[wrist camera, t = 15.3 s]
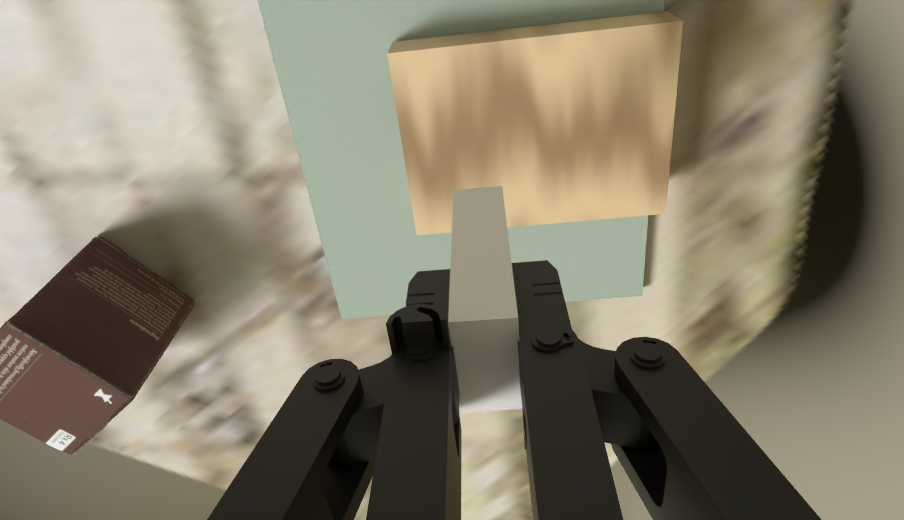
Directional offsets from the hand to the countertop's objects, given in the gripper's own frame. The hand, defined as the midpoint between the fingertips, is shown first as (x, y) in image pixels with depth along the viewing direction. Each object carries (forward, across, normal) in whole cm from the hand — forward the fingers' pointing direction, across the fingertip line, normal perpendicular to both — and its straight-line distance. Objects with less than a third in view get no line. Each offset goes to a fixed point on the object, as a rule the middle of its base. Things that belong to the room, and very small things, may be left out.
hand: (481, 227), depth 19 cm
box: (+10, -20, -8) cm, 24 cm away
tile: (+8, -3, 0) cm, 8 cm away
